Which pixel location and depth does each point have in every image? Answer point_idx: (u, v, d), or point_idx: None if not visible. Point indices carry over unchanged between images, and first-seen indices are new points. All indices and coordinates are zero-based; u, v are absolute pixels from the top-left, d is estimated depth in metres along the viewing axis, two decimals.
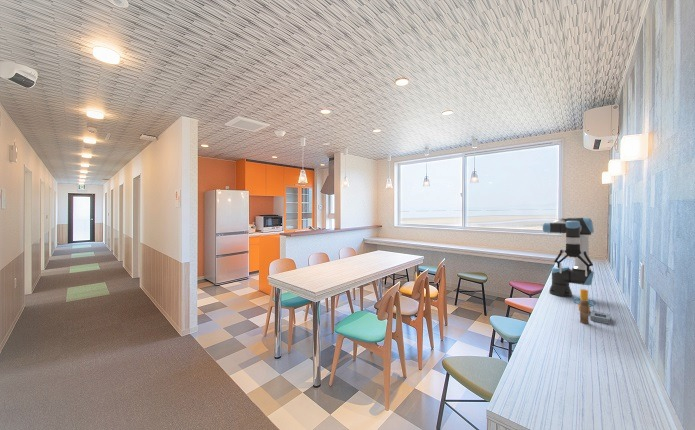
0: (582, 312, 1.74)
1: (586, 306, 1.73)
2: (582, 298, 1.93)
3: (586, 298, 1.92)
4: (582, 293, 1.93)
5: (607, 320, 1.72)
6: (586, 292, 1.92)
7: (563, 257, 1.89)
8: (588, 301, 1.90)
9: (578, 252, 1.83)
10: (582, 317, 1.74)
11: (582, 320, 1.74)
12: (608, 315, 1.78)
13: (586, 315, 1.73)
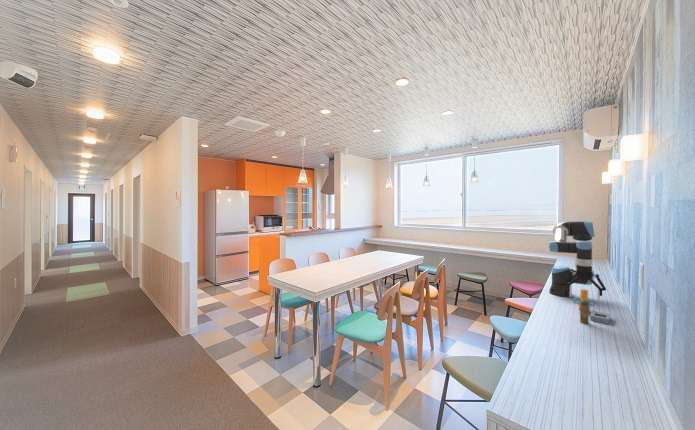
0: (582, 312, 1.74)
1: (586, 306, 1.73)
2: (582, 298, 1.93)
3: (586, 298, 1.92)
4: (582, 293, 1.93)
5: (607, 320, 1.72)
6: (586, 292, 1.92)
7: (573, 279, 1.77)
8: (588, 301, 1.90)
9: (590, 275, 1.71)
10: (582, 317, 1.74)
11: (582, 320, 1.74)
12: (608, 315, 1.78)
13: (586, 315, 1.73)
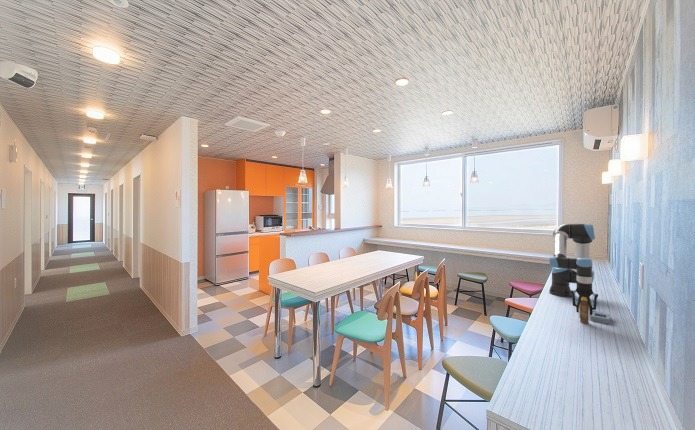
0: (582, 312, 1.74)
1: (586, 306, 1.73)
2: (582, 298, 1.93)
3: (586, 298, 1.92)
4: None
5: (607, 320, 1.72)
6: None
7: (578, 299, 1.76)
8: None
9: (590, 292, 1.72)
10: (582, 317, 1.74)
11: (582, 320, 1.74)
12: (608, 315, 1.78)
13: (586, 315, 1.73)
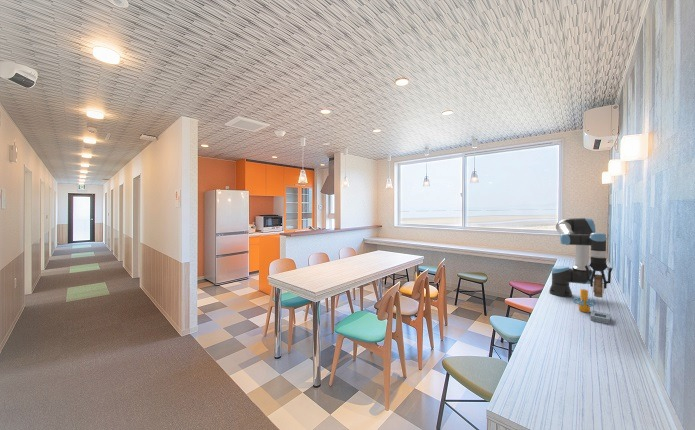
0: (596, 286, 1.77)
1: (600, 280, 1.76)
2: (582, 298, 1.93)
3: (586, 298, 1.92)
4: (582, 293, 1.93)
5: (607, 320, 1.72)
6: (586, 292, 1.92)
7: (592, 273, 1.79)
8: (588, 301, 1.90)
9: (604, 266, 1.74)
10: (596, 291, 1.77)
11: (596, 294, 1.77)
12: (608, 315, 1.78)
13: (600, 289, 1.76)
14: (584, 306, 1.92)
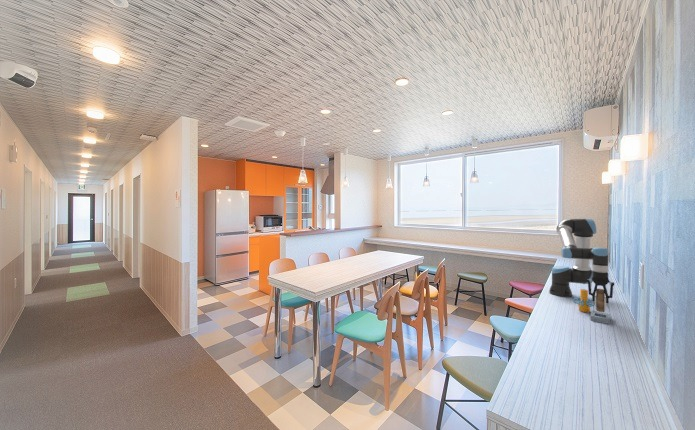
0: (598, 300, 1.77)
1: (602, 294, 1.76)
2: (582, 298, 1.93)
3: (586, 298, 1.92)
4: (582, 293, 1.93)
5: (607, 320, 1.72)
6: (586, 292, 1.92)
7: (594, 288, 1.79)
8: (588, 301, 1.90)
9: (606, 281, 1.75)
10: (598, 305, 1.77)
11: (598, 308, 1.77)
12: (608, 315, 1.78)
13: (602, 303, 1.76)
14: (584, 306, 1.92)
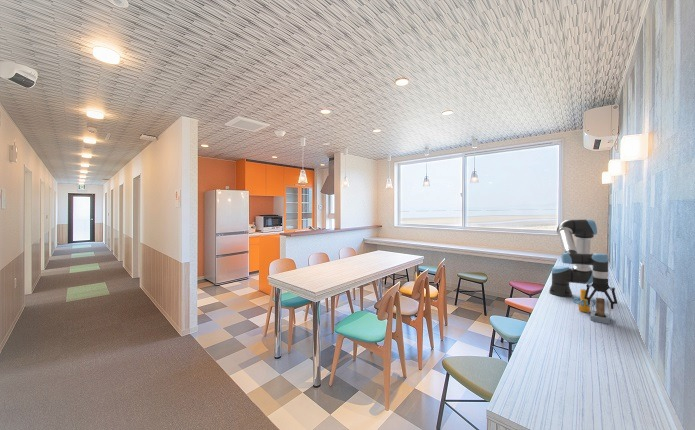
0: (598, 309, 1.77)
1: (602, 304, 1.76)
2: (582, 298, 1.93)
3: None
4: (582, 293, 1.93)
5: (607, 320, 1.72)
6: None
7: (592, 293, 1.80)
8: None
9: (606, 287, 1.75)
10: (598, 314, 1.77)
11: None
12: (608, 315, 1.78)
13: (602, 312, 1.76)
14: (584, 306, 1.92)
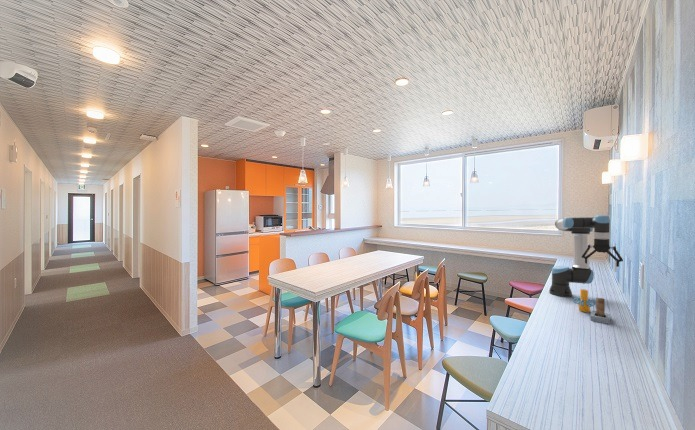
0: (598, 309, 1.77)
1: (602, 304, 1.76)
2: (582, 298, 1.93)
3: (586, 298, 1.92)
4: (582, 293, 1.93)
5: (607, 320, 1.72)
6: (586, 292, 1.92)
7: (591, 252, 1.85)
8: (588, 301, 1.90)
9: (607, 247, 1.80)
10: (598, 314, 1.77)
11: None
12: (608, 315, 1.78)
13: (602, 312, 1.76)
14: (584, 306, 1.92)
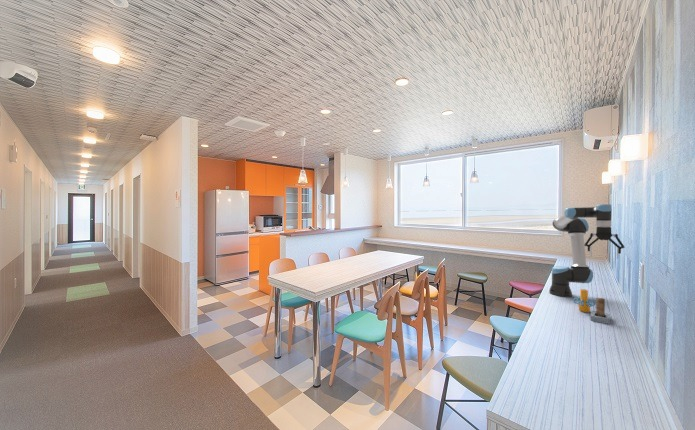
0: (598, 309, 1.77)
1: (602, 304, 1.76)
2: (582, 298, 1.93)
3: (586, 298, 1.92)
4: (582, 293, 1.93)
5: (607, 320, 1.72)
6: (586, 292, 1.92)
7: (594, 240, 1.92)
8: (588, 301, 1.90)
9: (609, 235, 1.86)
10: (598, 314, 1.77)
11: None
12: (608, 315, 1.78)
13: (602, 312, 1.76)
14: (584, 306, 1.92)
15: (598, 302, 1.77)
